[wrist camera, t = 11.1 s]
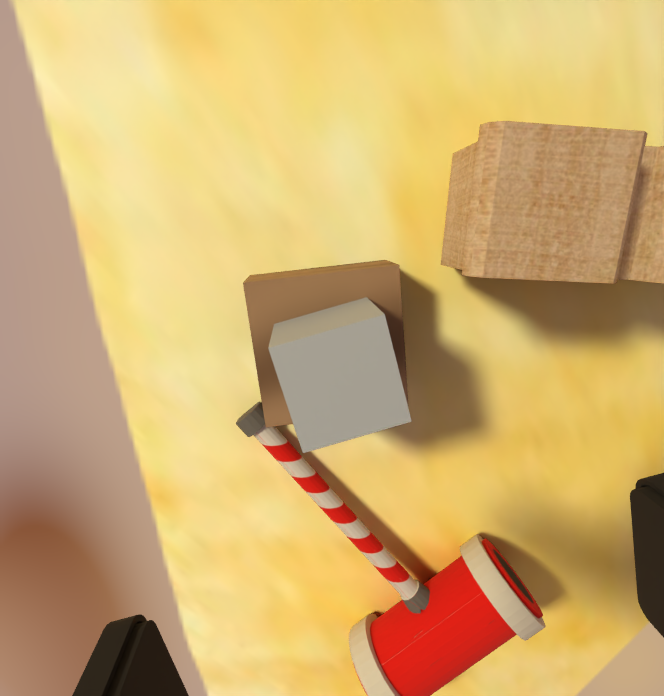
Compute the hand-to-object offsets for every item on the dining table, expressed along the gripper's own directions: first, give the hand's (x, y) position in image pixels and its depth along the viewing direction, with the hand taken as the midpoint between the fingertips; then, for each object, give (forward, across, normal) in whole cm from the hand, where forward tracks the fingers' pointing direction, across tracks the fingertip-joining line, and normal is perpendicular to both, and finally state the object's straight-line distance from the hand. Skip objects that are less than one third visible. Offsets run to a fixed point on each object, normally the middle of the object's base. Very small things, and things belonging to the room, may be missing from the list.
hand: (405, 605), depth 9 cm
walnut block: (+20, 0, -1) cm, 20 cm away
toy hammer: (+20, 0, +15) cm, 25 cm away
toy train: (+20, -15, -4) cm, 25 cm away
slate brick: (+16, 0, 0) cm, 16 cm away
